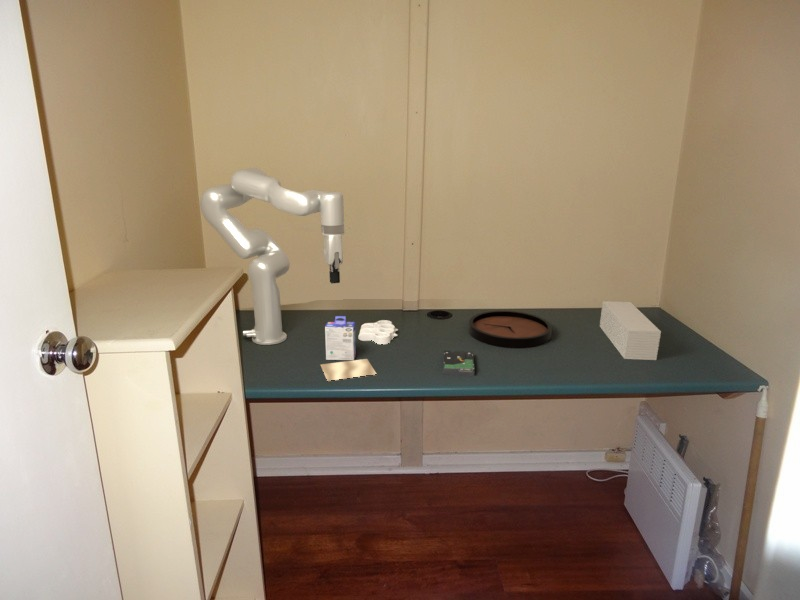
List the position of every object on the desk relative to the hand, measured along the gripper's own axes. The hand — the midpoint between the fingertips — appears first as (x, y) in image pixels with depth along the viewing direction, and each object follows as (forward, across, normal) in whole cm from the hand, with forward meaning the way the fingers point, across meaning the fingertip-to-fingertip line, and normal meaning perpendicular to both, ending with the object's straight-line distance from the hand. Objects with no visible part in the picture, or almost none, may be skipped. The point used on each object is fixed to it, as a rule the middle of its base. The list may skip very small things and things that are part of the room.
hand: (334, 282), depth 187 cm
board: (+25, +19, 0) cm, 31 cm away
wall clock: (+26, +4, +67) cm, 72 cm away
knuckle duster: (+25, -8, +18) cm, 32 cm away
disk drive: (+26, +26, +36) cm, 51 cm away
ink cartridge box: (+25, +8, 0) cm, 26 cm away
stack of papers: (+26, +25, +104) cm, 110 cm away
